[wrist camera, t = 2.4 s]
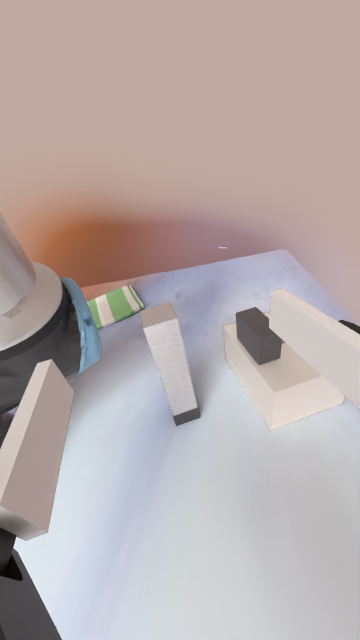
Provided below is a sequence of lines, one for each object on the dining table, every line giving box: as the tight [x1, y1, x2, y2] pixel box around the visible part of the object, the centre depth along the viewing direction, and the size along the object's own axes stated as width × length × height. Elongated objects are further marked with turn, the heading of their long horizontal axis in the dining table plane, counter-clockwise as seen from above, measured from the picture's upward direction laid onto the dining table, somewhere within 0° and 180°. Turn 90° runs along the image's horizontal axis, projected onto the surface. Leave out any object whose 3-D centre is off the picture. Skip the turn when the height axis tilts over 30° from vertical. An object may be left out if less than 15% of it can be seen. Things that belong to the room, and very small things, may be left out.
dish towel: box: [87, 285, 144, 329], centre depth 65 cm, size 18×23×3 cm
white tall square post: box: [140, 302, 200, 426], centre depth 29 cm, size 4×4×18 cm
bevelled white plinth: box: [223, 312, 345, 430], centre depth 33 cm, size 11×14×8 cm
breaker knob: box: [236, 307, 282, 365], centre depth 29 cm, size 3×6×4 cm, turn 16°
